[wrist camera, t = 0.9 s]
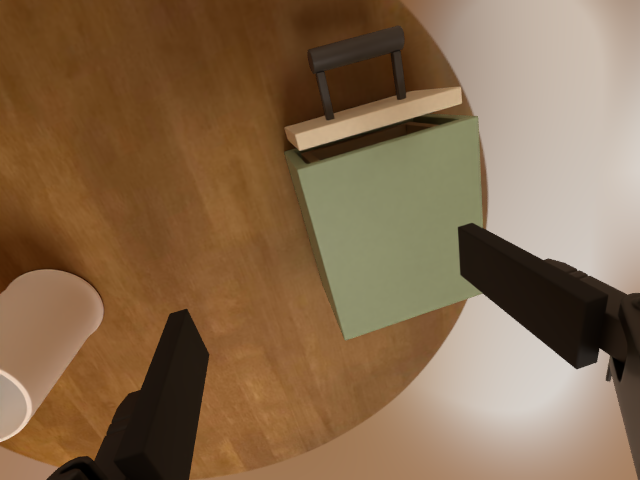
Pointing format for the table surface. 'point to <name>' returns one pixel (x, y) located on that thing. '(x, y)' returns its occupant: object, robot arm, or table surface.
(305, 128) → the drawer
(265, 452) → the table surface
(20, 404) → the mug
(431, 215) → the cabinet
